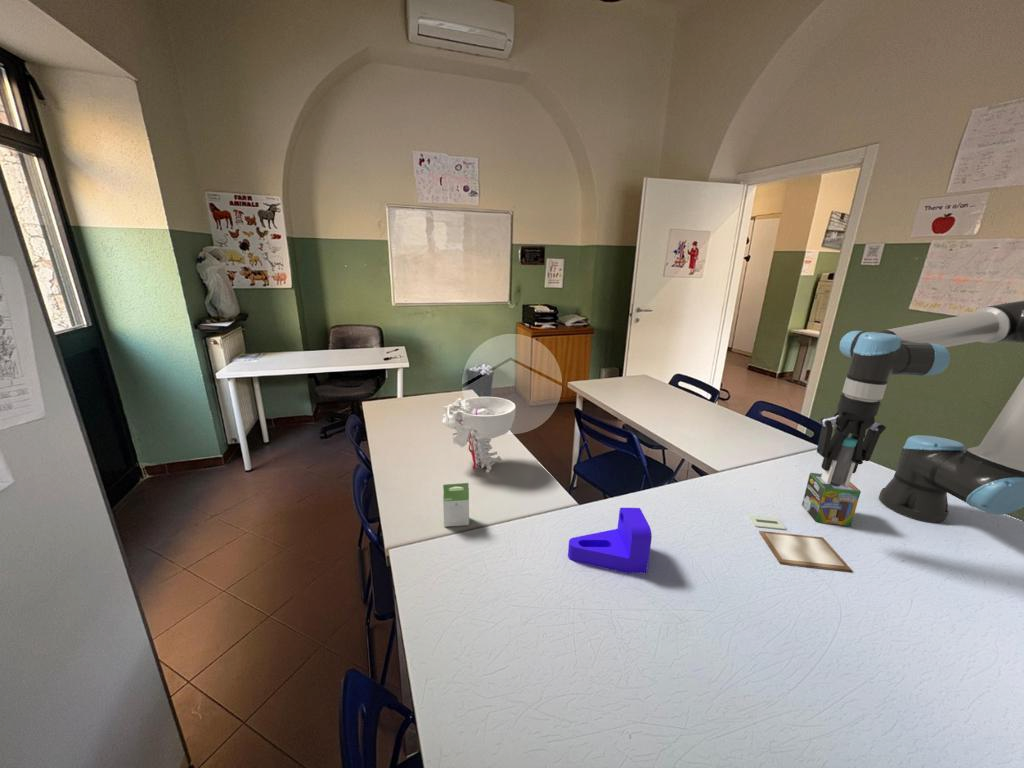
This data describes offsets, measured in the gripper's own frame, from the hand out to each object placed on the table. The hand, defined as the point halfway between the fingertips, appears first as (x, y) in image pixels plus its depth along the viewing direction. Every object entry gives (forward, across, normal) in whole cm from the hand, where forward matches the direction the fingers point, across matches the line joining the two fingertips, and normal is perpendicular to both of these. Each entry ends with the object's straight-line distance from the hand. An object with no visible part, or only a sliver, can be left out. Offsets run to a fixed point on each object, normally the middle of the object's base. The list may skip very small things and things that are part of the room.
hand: (834, 481), depth 104 cm
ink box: (+19, +98, +12) cm, 100 cm away
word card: (+17, +11, -4) cm, 21 cm away
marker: (+1, 0, 0) cm, 1 cm away
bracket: (+18, +58, +18) cm, 64 cm away
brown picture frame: (+17, +7, +7) cm, 20 cm away
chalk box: (+17, -8, -11) cm, 22 cm away
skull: (+18, +99, -20) cm, 103 cm away
